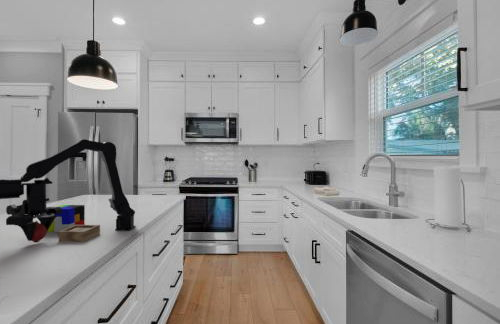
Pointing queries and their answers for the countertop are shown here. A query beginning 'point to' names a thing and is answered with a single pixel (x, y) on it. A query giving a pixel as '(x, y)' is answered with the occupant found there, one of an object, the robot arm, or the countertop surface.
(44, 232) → the onion
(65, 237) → the wooden tray
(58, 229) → the puzzle toy
